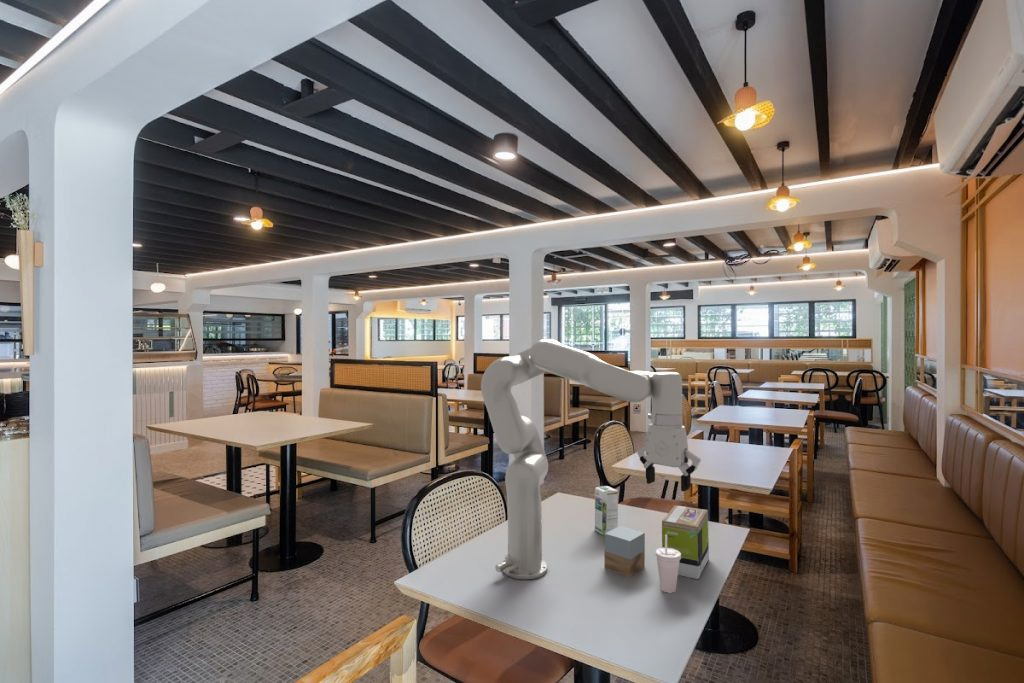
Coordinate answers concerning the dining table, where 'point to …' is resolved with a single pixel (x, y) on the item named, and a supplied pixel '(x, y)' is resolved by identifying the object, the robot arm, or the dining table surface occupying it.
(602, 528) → the syrup box
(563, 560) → the dining table surface
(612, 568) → the tower base
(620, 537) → the tower top
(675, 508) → the tea box
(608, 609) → the dining table surface
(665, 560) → the smoothie
